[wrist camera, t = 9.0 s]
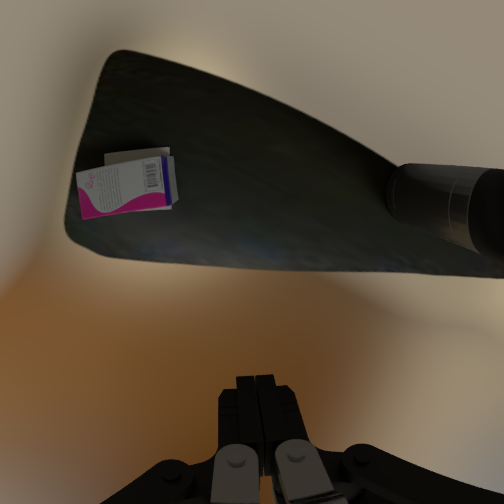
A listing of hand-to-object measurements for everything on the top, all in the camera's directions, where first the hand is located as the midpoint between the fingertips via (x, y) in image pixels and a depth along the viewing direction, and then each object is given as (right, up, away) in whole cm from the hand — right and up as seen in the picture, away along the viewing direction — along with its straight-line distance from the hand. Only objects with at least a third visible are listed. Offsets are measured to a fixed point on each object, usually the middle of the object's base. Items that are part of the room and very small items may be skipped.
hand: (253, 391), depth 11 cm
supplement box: (-9, +14, +22) cm, 28 cm away
